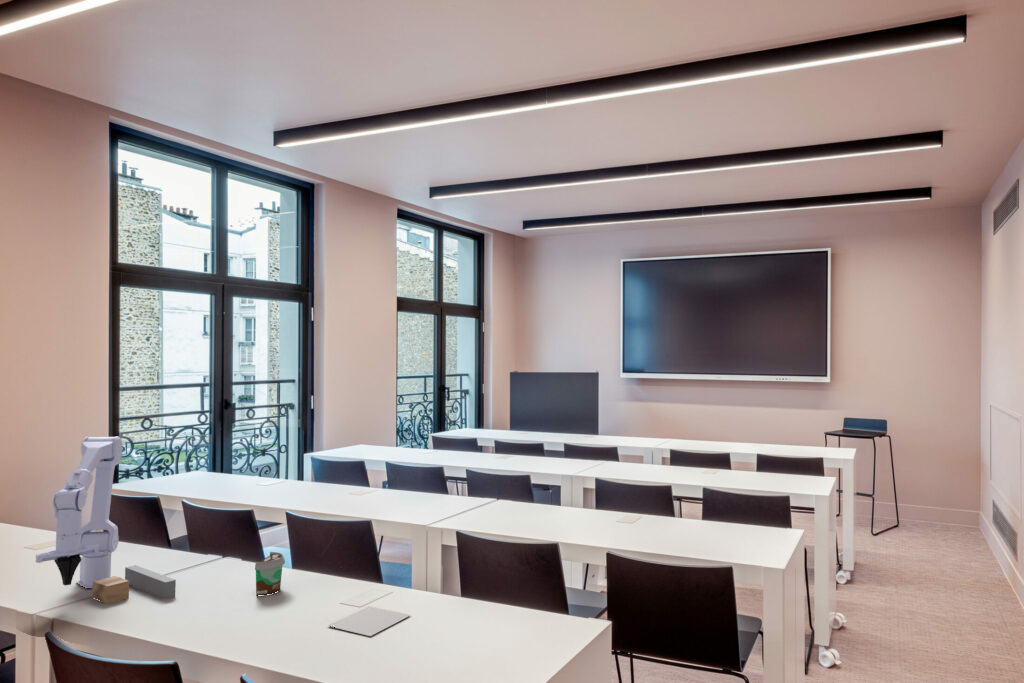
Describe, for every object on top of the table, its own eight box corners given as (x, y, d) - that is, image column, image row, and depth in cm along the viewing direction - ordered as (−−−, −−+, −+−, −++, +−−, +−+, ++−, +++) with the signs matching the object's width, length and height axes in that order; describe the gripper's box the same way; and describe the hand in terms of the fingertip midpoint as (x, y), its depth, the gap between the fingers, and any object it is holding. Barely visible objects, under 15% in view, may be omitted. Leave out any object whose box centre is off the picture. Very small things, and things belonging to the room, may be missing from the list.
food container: (275, 598, 198) (276, 563, 199) (254, 598, 198) (254, 562, 199) (290, 585, 210) (291, 551, 211) (270, 584, 211) (270, 551, 211)
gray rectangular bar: (124, 584, 211) (125, 567, 211) (135, 581, 213) (135, 565, 214) (164, 600, 197) (165, 582, 197) (175, 597, 199) (175, 579, 199)
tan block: (92, 599, 197) (92, 581, 197) (114, 593, 202) (114, 576, 202) (106, 604, 193) (107, 586, 193) (128, 598, 198) (129, 580, 198)
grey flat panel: (299, 621, 181) (299, 619, 181) (361, 594, 203) (361, 592, 203) (370, 638, 170) (370, 636, 170) (428, 608, 192) (428, 605, 192)
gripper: (42, 540, 182) (40, 593, 181) (103, 531, 193) (101, 581, 192) (34, 536, 186) (32, 588, 186) (94, 527, 197) (92, 576, 197)
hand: (66, 584), depth 189 cm, fingers closed
